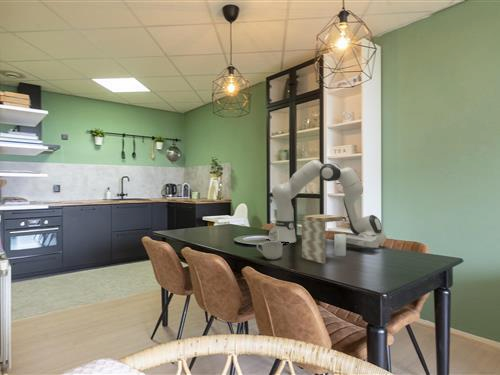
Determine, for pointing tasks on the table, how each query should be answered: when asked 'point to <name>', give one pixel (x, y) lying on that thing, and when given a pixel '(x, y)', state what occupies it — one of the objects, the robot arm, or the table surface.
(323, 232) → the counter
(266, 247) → the teacup
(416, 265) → the table surface
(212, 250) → the table surface
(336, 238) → the pale grey upright cylinder
